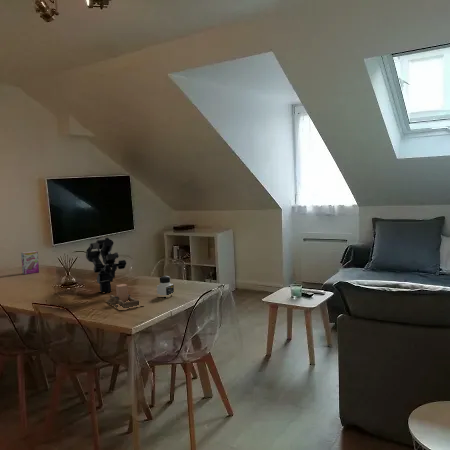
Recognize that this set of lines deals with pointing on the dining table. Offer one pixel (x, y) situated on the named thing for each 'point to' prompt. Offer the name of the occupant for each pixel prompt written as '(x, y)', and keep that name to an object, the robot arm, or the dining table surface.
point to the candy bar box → (30, 262)
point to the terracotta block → (122, 292)
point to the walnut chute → (115, 300)
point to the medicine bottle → (165, 286)
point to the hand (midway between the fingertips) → (114, 277)
